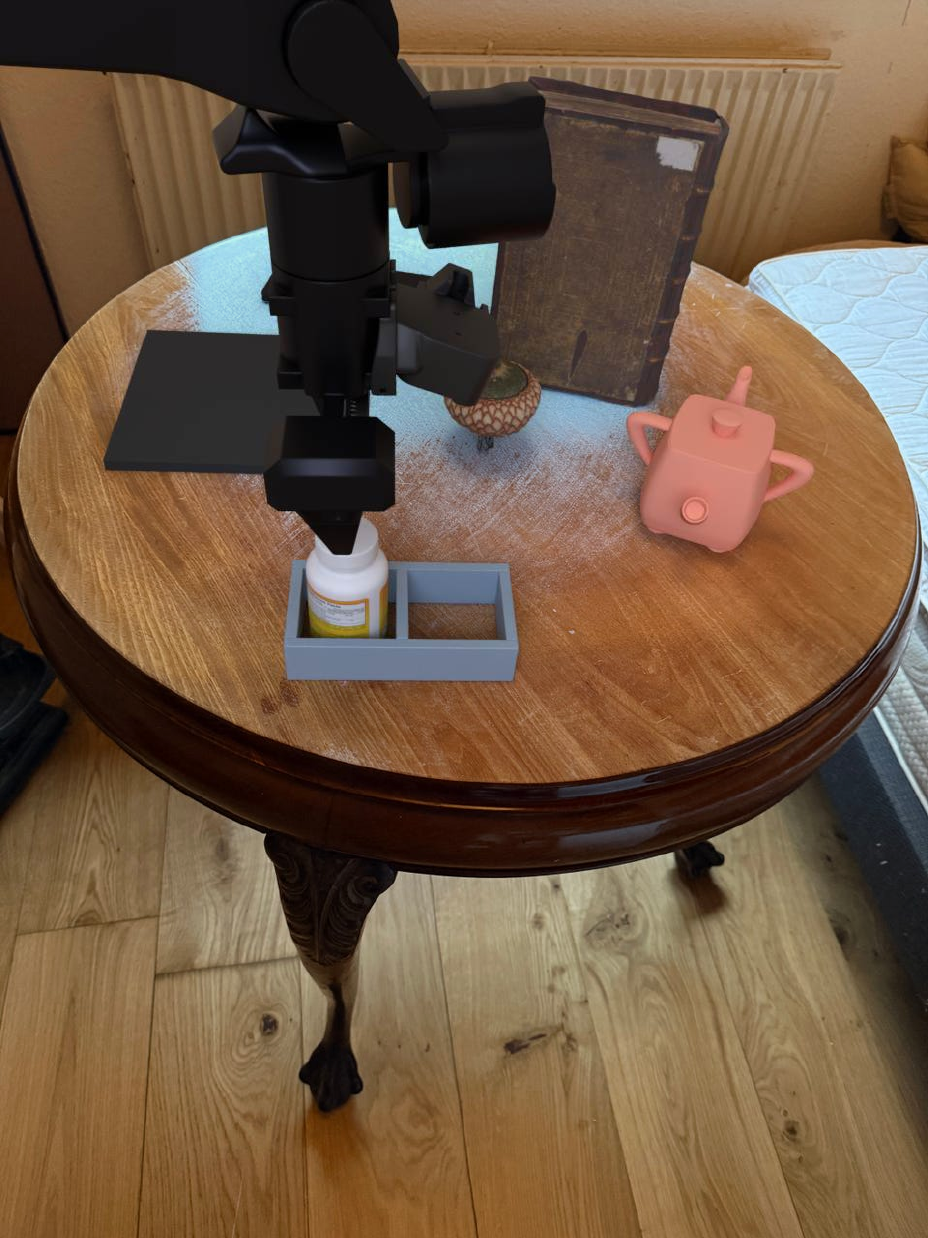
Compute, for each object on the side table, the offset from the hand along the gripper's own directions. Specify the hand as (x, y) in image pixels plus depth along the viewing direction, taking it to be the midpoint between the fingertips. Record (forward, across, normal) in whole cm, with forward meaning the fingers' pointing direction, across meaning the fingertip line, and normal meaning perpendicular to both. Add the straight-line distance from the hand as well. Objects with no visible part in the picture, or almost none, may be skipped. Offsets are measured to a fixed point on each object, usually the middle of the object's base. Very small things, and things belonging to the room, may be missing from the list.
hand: (345, 500), depth 56 cm
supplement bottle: (+13, 0, 0) cm, 13 cm away
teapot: (+14, +14, -28) cm, 34 cm away
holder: (+13, 0, -3) cm, 13 cm away
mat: (+12, +28, +11) cm, 32 cm away
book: (+14, +33, -20) cm, 41 cm away
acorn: (+13, +22, -11) cm, 28 cm away
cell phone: (+13, +48, +1) cm, 50 cm away
